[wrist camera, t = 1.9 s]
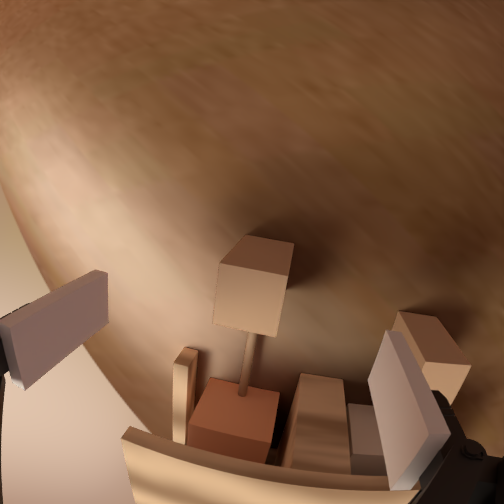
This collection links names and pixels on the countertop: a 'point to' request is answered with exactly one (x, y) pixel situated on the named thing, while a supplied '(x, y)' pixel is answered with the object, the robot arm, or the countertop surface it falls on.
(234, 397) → the tether block terracotta
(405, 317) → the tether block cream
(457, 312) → the countertop surface
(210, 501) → the shelf
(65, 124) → the countertop surface
